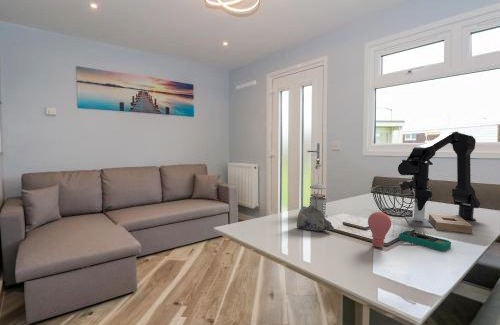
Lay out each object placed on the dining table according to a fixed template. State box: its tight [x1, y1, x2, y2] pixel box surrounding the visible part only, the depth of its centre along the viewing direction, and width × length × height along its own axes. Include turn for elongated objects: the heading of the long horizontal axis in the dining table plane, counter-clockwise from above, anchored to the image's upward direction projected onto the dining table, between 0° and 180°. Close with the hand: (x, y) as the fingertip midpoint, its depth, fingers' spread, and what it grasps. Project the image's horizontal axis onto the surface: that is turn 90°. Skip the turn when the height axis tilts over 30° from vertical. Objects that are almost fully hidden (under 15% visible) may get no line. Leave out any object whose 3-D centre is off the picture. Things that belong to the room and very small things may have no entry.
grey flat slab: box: [404, 216, 434, 229], centre depth 124 cm, size 14×9×1 cm, turn 157°
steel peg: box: [411, 200, 426, 221], centre depth 123 cm, size 4×4×8 cm
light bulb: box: [367, 211, 392, 248], centre depth 93 cm, size 7×7×12 cm
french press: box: [309, 163, 328, 218], centre depth 133 cm, size 10×12×25 cm
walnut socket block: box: [428, 213, 473, 234], centre depth 119 cm, size 16×12×3 cm
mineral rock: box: [296, 205, 335, 232], centre depth 110 cm, size 13×11×10 cm
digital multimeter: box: [398, 230, 452, 252], centre depth 98 cm, size 7×15×3 cm, turn 36°
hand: (418, 209), depth 123 cm, fingers closed on steel peg, 4 cm apart
